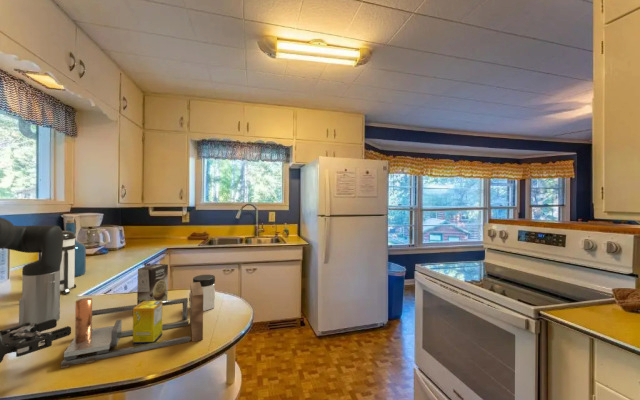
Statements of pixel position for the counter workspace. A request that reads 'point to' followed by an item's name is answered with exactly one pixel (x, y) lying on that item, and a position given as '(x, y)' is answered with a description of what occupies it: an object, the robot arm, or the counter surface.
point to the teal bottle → (77, 251)
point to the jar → (207, 290)
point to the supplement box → (147, 322)
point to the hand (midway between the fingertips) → (63, 326)
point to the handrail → (128, 308)
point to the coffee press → (67, 262)
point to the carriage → (91, 333)
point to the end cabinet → (196, 311)
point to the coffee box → (152, 283)
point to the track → (95, 356)
